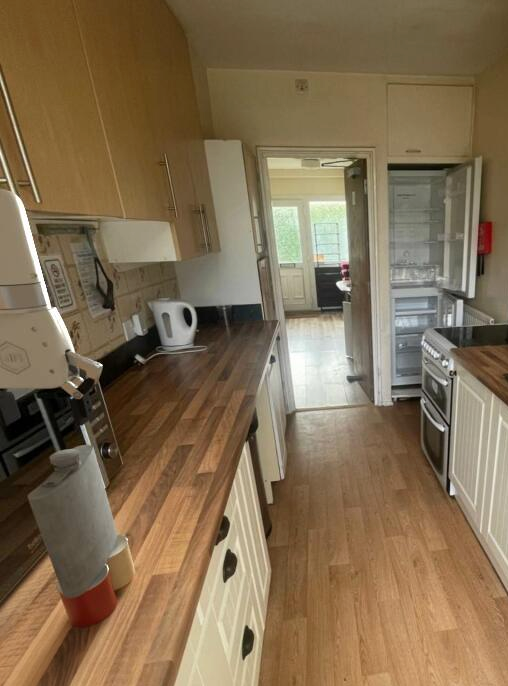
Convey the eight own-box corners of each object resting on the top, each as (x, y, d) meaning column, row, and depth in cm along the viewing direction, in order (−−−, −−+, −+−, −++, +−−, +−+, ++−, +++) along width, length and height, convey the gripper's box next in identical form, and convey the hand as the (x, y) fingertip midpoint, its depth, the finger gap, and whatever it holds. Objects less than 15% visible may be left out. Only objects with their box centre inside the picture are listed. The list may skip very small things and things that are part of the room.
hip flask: (100, 531, 77) (70, 431, 69) (125, 528, 78) (98, 429, 70) (59, 599, 63) (16, 484, 55) (90, 595, 64) (52, 481, 56)
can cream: (83, 594, 73) (72, 562, 70) (103, 565, 79) (94, 535, 76) (125, 591, 73) (116, 560, 71) (142, 563, 80) (134, 533, 77)
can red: (59, 629, 66) (46, 595, 64) (83, 595, 73) (72, 563, 70) (105, 626, 67) (94, 592, 64) (125, 592, 73) (116, 560, 70)
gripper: (-94, 300, 49) (-41, 434, 56) (67, 303, 51) (99, 433, 58) (-41, 292, 56) (1, 412, 63) (99, 295, 58) (125, 411, 65)
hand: (48, 422), depth 60 cm, fingers open, 9 cm apart
